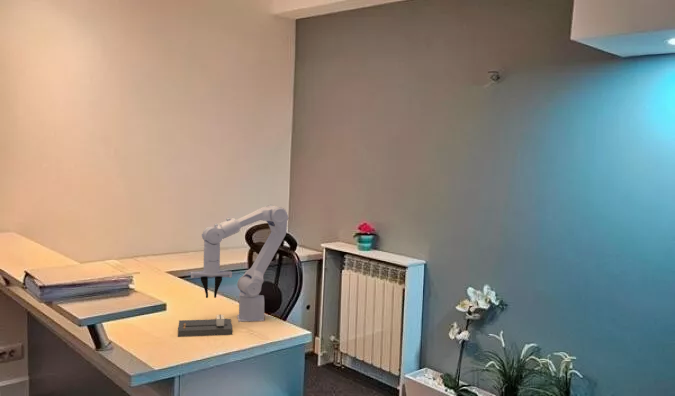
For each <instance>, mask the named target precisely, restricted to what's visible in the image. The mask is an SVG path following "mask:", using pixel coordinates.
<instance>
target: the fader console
mask: <svg viewBox="0 0 675 396" xmlns="http://www.w3.org/2000/svg"><path fill="white" fill-rule="evenodd" d="M177 327H178V328H177V329H178V330H177V337H178V338H180V337H204V336H207V337H209V336H228V335H229V336H230V335H231V336H233V325H232V319H231V318H224V326H217V325H216V318H215V319H191V320H190V319H189V320H188V319H186V320H180V319H179V320H178V326H177Z"/></svg>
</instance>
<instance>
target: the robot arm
mask: <svg viewBox="0 0 675 396" xmlns="http://www.w3.org/2000/svg"><path fill="white" fill-rule="evenodd" d="M289 219H290V218H289V215H288V212H287V210H286V209H285V207H282V206H277V205H273V204H269V205H266V206H262V207H260V208H258V209H256V210H254V211H252V212H250V213H248V214H246V215H244V216H241V217H239V218H237V219H236V218H234V217H231V218H230V217H227V218H226V220H224V221H222V222H220V223H218V222H217V223H214V225H213V226H207V227H206V228H204V230H203V231H202V233H201V237H202V238H201V239H203V241H204V242H203V270H200V271H190V279H195V278H196V279H197V278H198V279H200V282H201V284H202V286H203V289H204V293H205V298H206V299H208V298H209V291H208V289H209V288H208V285H209V279H210V278H214V291H213V292H214V293H213V298H215V299H216V298H217V294H218V290H219V288H220V285H221V283H222V282H223V278H229V279H231V278H232V277H233V272H232V271H228V270H227V271H226V270H221V269H220V265H221V242H222V241H223V240H224V239H226V238H227V239H228V238H229V237H231V236H233V235H235V234H237V233H239V232H240V230H241V228H243V227H246V226H248V225H251V224H254V223H256V222H260V221H265V222H267V224H268V227H269V230H270V233H269V235H268V236H267V239H266V241H265V242H264V244H263V246H262V248H261V249H260V251H259V253H258V255H257V257H256V258H255V260H254V261H253V264H252V265H251V267H250V268H249V269H248V270H246V271H245V272H244V274H243V275H242V276H240V277H239V278H238V280H237V284H236V285H237V289H238V290H239V294H238V295H239V296H238V304H239V305H238V314H237V315H236V316H237V321H238V323H240V322H264V321H265V295H263V294H262V295H261V294H260V293H261V291H262V285H263V283H264V275H265V273H266V271H267V269H268V268H269V265H270V263H271V262H272V260H273V258H274V257H275V255H276V253H277V251H278V249H279V248H280V246H281V244H282V242H283V241H284V239H285V237H286V235H287V227H288V226H287V225H288V220H289Z"/></svg>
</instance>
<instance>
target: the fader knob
mask: <svg viewBox="0 0 675 396" xmlns="http://www.w3.org/2000/svg"><path fill="white" fill-rule="evenodd" d="M215 319H216V325H217V326H224V319H225V315H224V314H216V317H215Z"/></svg>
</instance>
